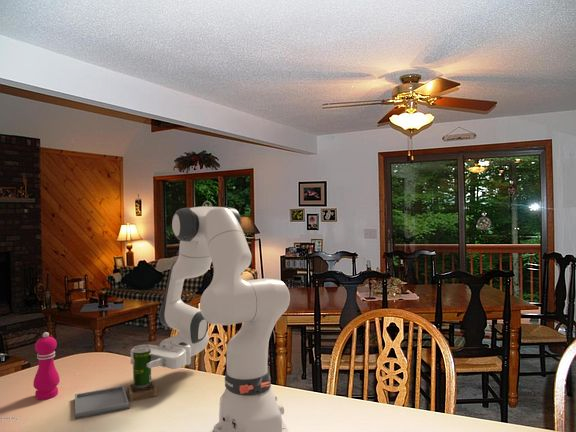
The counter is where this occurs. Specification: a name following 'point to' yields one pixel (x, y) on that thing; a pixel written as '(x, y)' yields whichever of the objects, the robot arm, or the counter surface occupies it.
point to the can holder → (141, 394)
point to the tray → (100, 402)
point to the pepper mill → (46, 368)
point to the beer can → (141, 366)
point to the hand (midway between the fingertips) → (139, 363)
